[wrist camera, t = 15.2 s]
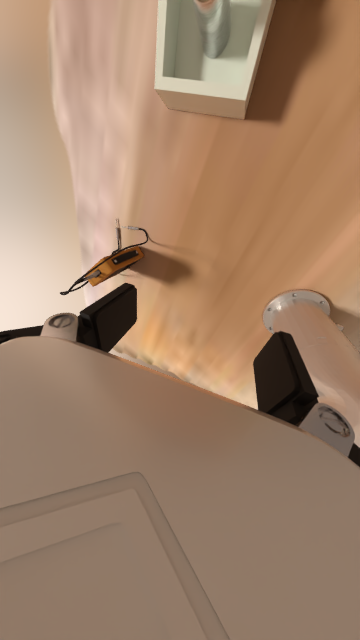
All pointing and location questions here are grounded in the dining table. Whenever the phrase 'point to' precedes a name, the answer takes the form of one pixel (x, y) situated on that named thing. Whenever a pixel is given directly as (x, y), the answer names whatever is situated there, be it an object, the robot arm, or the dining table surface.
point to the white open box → (202, 72)
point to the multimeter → (111, 264)
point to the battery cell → (213, 25)
